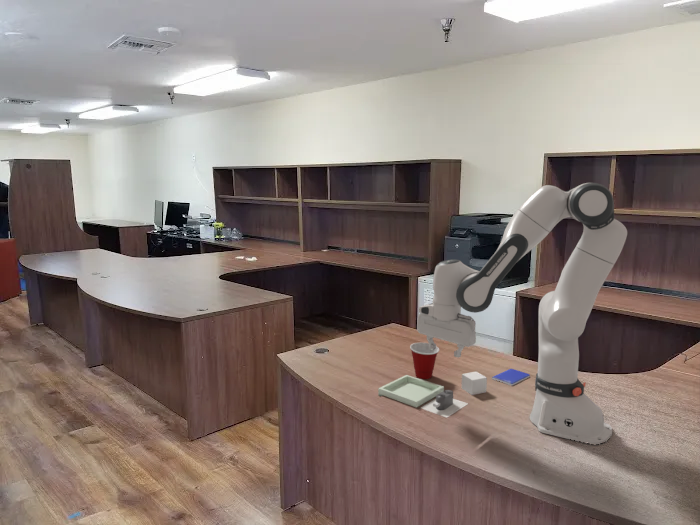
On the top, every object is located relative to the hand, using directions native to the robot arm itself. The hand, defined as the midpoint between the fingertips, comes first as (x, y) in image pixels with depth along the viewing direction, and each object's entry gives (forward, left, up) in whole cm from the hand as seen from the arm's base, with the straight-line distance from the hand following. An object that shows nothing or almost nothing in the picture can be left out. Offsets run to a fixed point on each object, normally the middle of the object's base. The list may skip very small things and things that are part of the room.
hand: (444, 352), depth 159 cm
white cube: (-2, -17, -19) cm, 25 cm away
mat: (-1, 0, -18) cm, 18 cm away
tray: (+13, -1, -18) cm, 23 cm away
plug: (-1, 0, -18) cm, 18 cm away
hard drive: (-6, -37, -19) cm, 42 cm away
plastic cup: (+18, -16, -18) cm, 30 cm away
